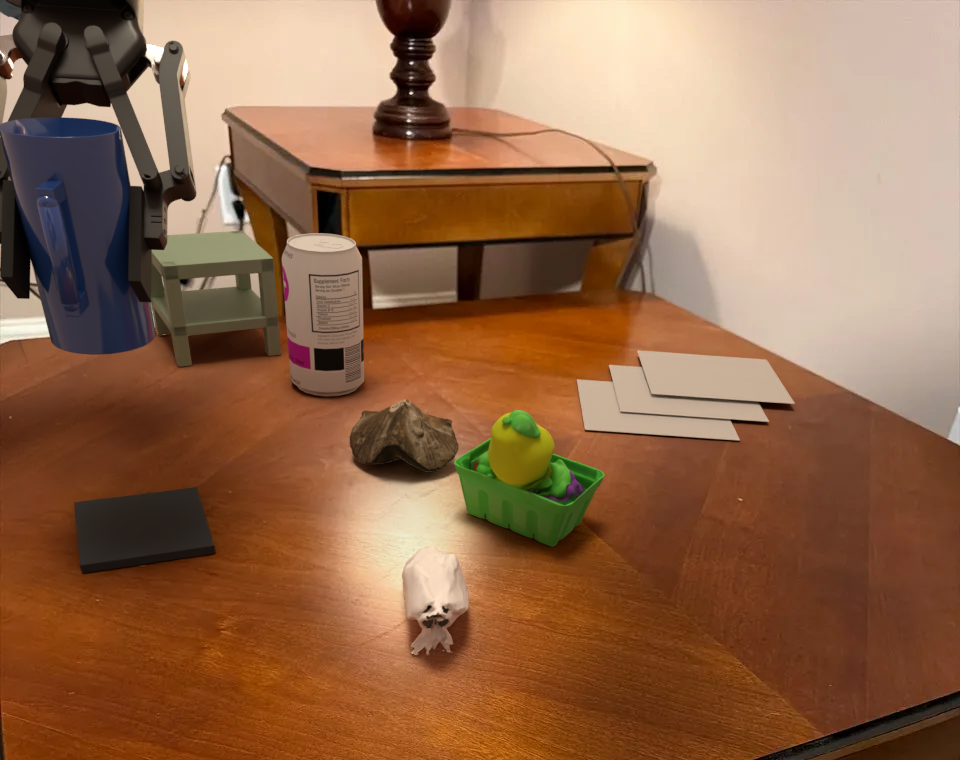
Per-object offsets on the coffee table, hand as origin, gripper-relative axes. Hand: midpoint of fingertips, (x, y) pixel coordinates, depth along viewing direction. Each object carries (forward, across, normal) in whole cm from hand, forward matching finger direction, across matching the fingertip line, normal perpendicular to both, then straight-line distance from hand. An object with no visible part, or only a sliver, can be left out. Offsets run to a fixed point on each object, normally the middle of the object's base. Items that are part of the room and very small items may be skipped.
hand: (78, 289), depth 56 cm
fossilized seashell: (+3, -22, -26) cm, 34 cm away
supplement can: (-10, -14, -39) cm, 43 cm away
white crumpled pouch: (+21, -23, -9) cm, 32 cm away
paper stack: (-9, -55, -38) cm, 68 cm away
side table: (-19, 0, -48) cm, 51 cm away
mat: (+12, 0, -17) cm, 21 cm away
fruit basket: (+11, -32, -18) cm, 38 cm away
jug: (+2, 0, -5) cm, 5 cm away
